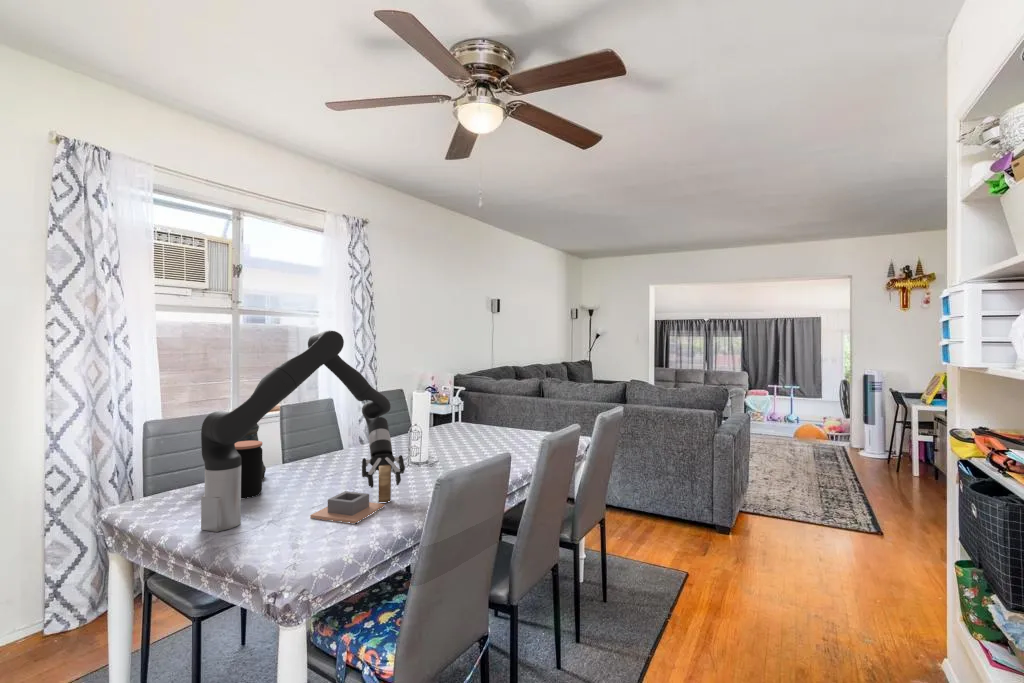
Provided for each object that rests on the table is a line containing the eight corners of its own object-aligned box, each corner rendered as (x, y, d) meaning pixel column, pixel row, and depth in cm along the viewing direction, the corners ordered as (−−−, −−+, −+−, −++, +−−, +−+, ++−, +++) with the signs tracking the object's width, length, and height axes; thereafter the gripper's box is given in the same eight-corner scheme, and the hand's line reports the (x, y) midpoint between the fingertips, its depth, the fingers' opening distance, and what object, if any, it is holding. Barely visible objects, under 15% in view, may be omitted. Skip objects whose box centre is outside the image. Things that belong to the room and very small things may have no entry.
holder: (355, 524, 146) (355, 507, 146) (310, 518, 150) (310, 501, 150) (384, 507, 161) (384, 491, 161) (342, 502, 166) (342, 487, 166)
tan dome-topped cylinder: (386, 503, 164) (387, 468, 164) (376, 502, 165) (376, 467, 165) (392, 500, 168) (393, 465, 168) (382, 499, 169) (382, 464, 169)
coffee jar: (268, 490, 177) (268, 440, 177) (249, 500, 167) (250, 447, 167) (240, 489, 178) (241, 440, 178) (220, 498, 168) (220, 446, 168)
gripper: (360, 440, 171) (364, 481, 160) (401, 437, 177) (408, 477, 166) (358, 452, 176) (362, 493, 165) (399, 448, 182) (404, 488, 171)
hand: (385, 485), depth 166 cm, fingers open, 8 cm apart
